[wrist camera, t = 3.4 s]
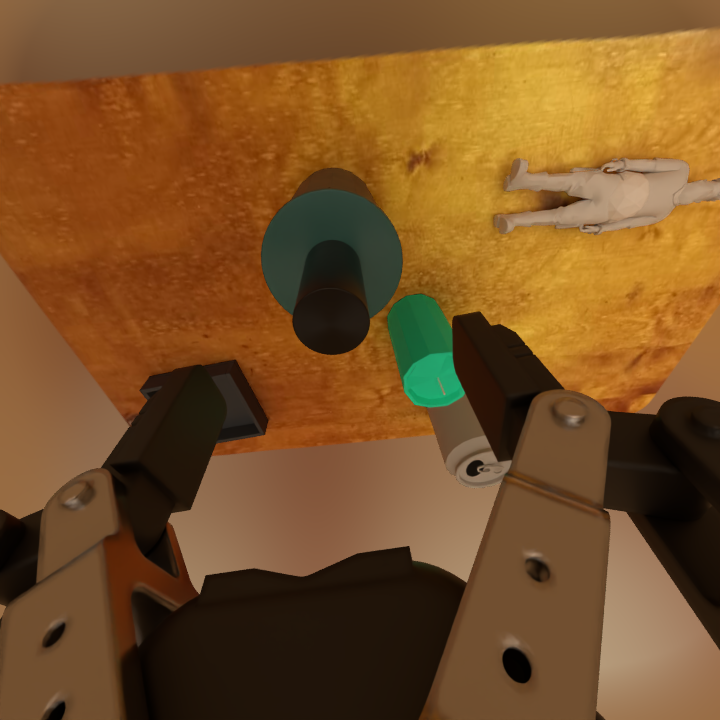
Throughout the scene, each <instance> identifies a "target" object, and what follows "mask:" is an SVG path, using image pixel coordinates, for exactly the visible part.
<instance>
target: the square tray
mask: <svg viewBox="0 0 720 720" xmlns="http://www.w3.org/2000/svg"><path fill="white" fill-rule="evenodd" d="M203 367H205V369H206V370H207V371H208V373H209V375H210V376H211V378H212V379H213V381H214V383H215V384H216V386H217V387H218V389H219V390H220V392H221V394H222V395H223V397H224V399H225V401H226V405H227V416H226V419H225V421H224V424H223V427H222V429H221V432H220V434H219V437H218V440H217V442H216V443H222V442H227V441H233V440H239V439H245V438H250V437H256V436H261V435H265V432H266V428H267V424H268V419H267V417H266V415H265V414H264V412H263V410H262V408H261V406H260V404H259V403H258V401H257V399H256V397H255V395H254V393H253V391H252V390H251V388H250V386H249V384H248V382H247V380H246V379H245V377H244V375H243V373H242V371H241V369H240V368H239V366H238V364H237V362H236V360H232V361H227V362H222V363H216V364H211V365H206V366H203ZM171 373H172V372H170V373H165V374H159V375H154V376H150V377H149V378H148V380H147V381H146V382H145V384H144V385H143V386H142V388H141V389H140V392H141V393H142V394H143V395H144V397H145V398H146V399H147V400H148V399H150V398H151V397H152V396H153V395H154V394H155V393H156V392H157V391H159V390H160V389H161V388H162V386H163V385H164V383H165V382H166V380H167V379H168V377H169V376H170V374H171Z"/></svg>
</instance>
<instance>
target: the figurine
mask: <svg viewBox="0 0 720 720" xmlns="http://www.w3.org/2000/svg"><path fill="white" fill-rule="evenodd" d="M613 160H616V161H615V162H613ZM613 160H611V162H610V163H606V164H604V165H603V166H601V167H600V168H601V169H599V168H597V169H594V168H573V169H571V170H570V173H556V174H547V172H541V173H536V174H532V173H528V172H526V171H527V169H528V161H527V160H523V159H520V158H518V159H516V160H514V162H513V164H512V167H511V174H510V175H508V176H507V177H506V179H505V181H504V187H503V188H504V191H513V190H518V189H529V190H534V191H537V192H538V191H540V190H541V189H543V190H549V191H564V192H566V193H568V195H570V196H576V197H581V198H585V199H588V200H581V201H577V202H575V203H573V204H571V205H568V206H566V207H562V206H561V207H559V208H557V209H552V210H543V211H536V212H531V211H526V212H521V213H519V214H518V213H515V214H498V215H495V217H494V226H495V227H496V228H499V232H500V233H501V234H506V233H508V232H511V231H512V230H513V229H514V227H515V226H525V227H531V225H555V228H556V229H561V228H573V227H579V229H580V231H581V232H585V233H586V232H587V233H588V234H591V233H593V234H594V235H599V234H601V233H602V232H604V231H613V230H619V229H623V228H629V229H630V228H634V227H639V226H645V225H650V224H654V223H657V222H659V221H661V220H663V219H664V218H666V217H667V216H668V215H669V214H670V212H671V211H672V210H673V209H674V208H675V207H676V206H678V205H688V204H690V203H692V202H696V203H699V202H701V201H715V200H720V178H718V179H714V180H712V181H707V180H699V181H695V182H691V183H687V181H688V174H689V165H688V164H687V163H686V162H685V161H683V160H677V159H662V158H654V159H652V160H649V159H634V160H628V159H627V158H621V159H619V160H617V158H616V159H613ZM606 167H607V168H610V169H608V170H607V172H610V171H616V172H623V171H625V170H630V171H636V172H644V173H643V174H640V173H634V172H628V171H625V172H623V173H617V174H606V173H604V172H603V169H604V168H606ZM620 169H621V170H620ZM587 170H591V171H587ZM592 170H593V171H592ZM595 170H597V171H595ZM575 171H585V172H575ZM584 224H595V225H594V226H585V227H584V226H583V225H584ZM583 227H584V228H583ZM597 232H598V233H597Z"/></svg>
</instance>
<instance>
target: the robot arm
mask: <svg viewBox="0 0 720 720" xmlns="http://www.w3.org/2000/svg"><path fill="white" fill-rule="evenodd" d="M452 343H453V364H454V369H455V372H456V375H457V377H458V379H459V381H460V384H461V386H462V388H463V390H464V392H465V394H466V396H467V398H468V400H469V402H470V405H471V407H472V409H473V411H474V413H475V415H476V417H477V419H478V421H479V423H480V426H481V428H482V430H483V432H484V434H485V436H486V438H487V440H488V442H489V444H490V446H491V449H492V451H493V453H494V455H495V457H496V459H497V461H498V462H503V461H509V460H512V462H511V465H510V468H509V471H508V473H505V475H504V477H503V480H502V482H501V485H500V488H499V491H498V494H497V497H496V500H495V502H494V506H493V508H492V511H491V514H490V517H489V520H488V523H487V526H486V529H485V532H484V535H483V538H482V541H481V544H480V547H479V549H478V552H477V556H476V558H475V561H474V564H473V567H472V570H471V573H470V576H469V579H468V582H467V583H466V582H465V581H463V580H462V579H460V578H458V577H457V576H455V575H454V574H452V573H450V572H448V571H445V570H444V569H442V568H439V567H437V566H434V565H430V564H427V563H424V562H418V561H413V560H412V557H411V552H410V548H409V546H407V547H399V548H392V549H386V550H378V551H371V552H365V553H358V554H355V555H353V556H351V557H348V558H346V559H344V560H342V561H340V562H337V563H335V564H333V565H331V566H328V567H326V568H324V569H322V570H319V571H318V572H315V573H313V574H311V575H308V576H304V577H298V576H293V575H287V574H282V573H276V572H271V571H266V570H260V569H246V570H239V571H233V572H226V573H219V574H212V575H206V576H205V579H204V583H203V586H202V590H201V593H200V595H199V594H198V592H197V591H196V590H195V588H194V587H193V585H192V583H191V581H190V578H189V575H188V572H187V569H186V566H185V563H184V560H183V556H182V553H181V550H180V547H179V544H178V541H177V538H176V534H175V531H174V528H173V526H172V525H171V524H170V523H169V522H168V519H169V517H170V515H171V513H175V512H181V511H187V510H190V509H191V507H192V504H193V502H194V499H195V497H196V494H197V491H198V489H199V486H200V484H201V481H202V478H203V476H204V473H205V471H206V468H207V465H208V463H209V460H210V457H211V455H212V453H213V450H214V447H215V445H216V442H217V440H218V437H219V434H220V432H221V429H222V427H223V424H224V421H225V419H226V416H227V405H226V401H225V399H224V397H223V395H222V394H221V392H220V390H219V389H218V387H217V386H216V384H215V383H214V381H213V379H212V378H211V376H210V375H209V373H208V371H207V370H206V369H205V367H203V366H202V365H194V366H189V367H184V368H178V369H175V370H173V372H172V373H171V374H170V376H169V377H168V379H167V380H166V382H165V383H164V385H163V386H162V388H161V389H160V390H159V391H157V392H156V393H155V394H154V395H153V396H152V397H151V398H150V399H148V401H147V402H146V404H145V405H144V407H143V408H142V409H141V411H140V412H139V415H138V416H137V417H136V418H135V419H134V421H133V422H132V427H129V428H128V430H127V431H126V432H125V434H124V435H123V437H122V438H121V440H120V441H119V443H118V444H117V445H116V447H115V448H114V450H113V451H112V453H111V454H110V456H109V457H108V458H107V460H106V461H105V463H104V464H103V466H102V467H101V468H97V469H92V470H89V471H86V472H84V473H82V474H80V475H78V476H77V477H75V478H74V479H72V480H70V481H69V482H68V483H66V484H65V485H64V486H62V487H61V488H60V489H59V490H58V491H57V492H56V493H55V494H54V495H53V496H52V498H51V499H50V500H49V501H48V503H47V504H46V506H45V507H44V509H42V510H40V511H38V512H35V513H33V514H30V515H28V516H26V517H23V518H21V519H17V518H16V517H14V516H12V515H10V514H9V513H7V512H5V511H3V510H0V604H1V605H5V606H7V607H6V608H5V611H4V613H3V616H2V618H1V619H0V720H605V719H604V718H603V717H602V716H601V715H600V714H599V713H598V712H597V711H596V706H597V693H598V680H599V667H600V654H601V641H602V629H603V617H604V604H605V591H606V578H607V565H608V553H609V540H610V515H609V513H608V512H607V511H605V510H604V509H603V508H606V509H612V510H618V511H625V512H627V514H628V515H629V517H630V518H631V519H632V521H633V523H634V524H635V526H636V527H637V528H638V530H639V531H640V533H641V534H642V536H643V537H644V539H645V540H646V542H647V543H648V545H649V546H650V548H651V549H652V551H653V552H654V554H655V555H656V557H657V558H658V560H659V561H660V562H661V564H662V565H663V567H664V568H665V570H666V571H667V573H668V574H669V575H670V577H671V579H672V580H673V581H674V583H675V585H676V586H677V588H678V589H679V590H680V592H681V593H682V595H683V596H684V598H685V599H686V601H687V602H688V604H689V605H690V607H691V608H692V610H693V611H694V613H695V614H696V616H697V617H698V618H699V620H700V621H701V623H702V624H703V626H704V627H705V629H706V630H707V632H708V633H709V635H710V636H711V638H712V639H713V641H714V642H715V643H716V645H717V647H718V648H719V649H720V402H718V401H714V400H710V399H706V398H699V397H677V398H672V399H670V400H668V401H666V402H664V404H663V405H662V406H661V407H660V409H659V411H658V413H657V414H656V415H652V414H639V413H625V412H613V411H607V410H606V409H605V408H604V407H603V406H602V405H601V404H600V403H598V402H597V401H596V400H594V399H593V398H591V397H589V396H587V395H584V394H582V393H578V392H575V391H570V390H565V389H564V388H563V387H562V386H561V384H560V383H559V382H558V381H557V380H556V379H555V377H554V376H553V375H552V374H551V373H550V372H549V371H548V369H547V368H546V367H545V366H544V365H543V364H542V362H541V361H540V360H539V359H538V358H537V357H536V355H533V352H532V351H531V350H530V349H529V347H528V346H527V345H525V343H524V342H523V340H522V339H521V338H520V337H519V336H518V335H517V333H516V332H514V331H512V330H510V329H508V328H507V327H505V326H503V325H501V324H498V325H493V326H491V325H490V324H489V322H488V321H487V320H486V319H485V317H484V316H483V315H482V313H481V312H479V311H478V312H473V313H468V314H463V315H457V316H454V317H453V320H452Z"/></svg>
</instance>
